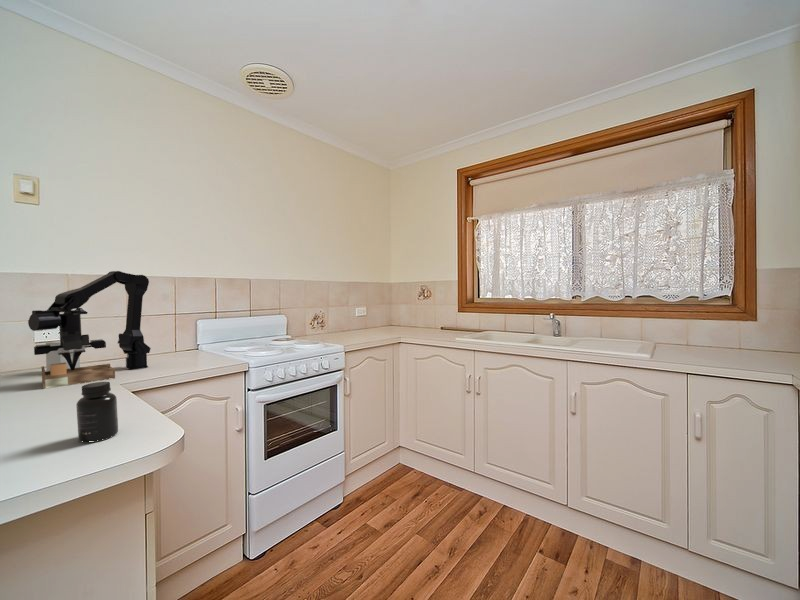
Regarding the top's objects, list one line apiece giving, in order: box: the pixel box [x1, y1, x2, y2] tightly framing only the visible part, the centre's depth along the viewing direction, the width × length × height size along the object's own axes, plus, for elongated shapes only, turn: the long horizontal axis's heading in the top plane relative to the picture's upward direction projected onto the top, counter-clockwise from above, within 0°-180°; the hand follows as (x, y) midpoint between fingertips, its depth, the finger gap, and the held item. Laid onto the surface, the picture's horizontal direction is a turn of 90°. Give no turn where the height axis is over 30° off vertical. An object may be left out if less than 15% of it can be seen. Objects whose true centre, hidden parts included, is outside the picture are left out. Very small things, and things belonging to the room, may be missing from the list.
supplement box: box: [45, 340, 81, 372], centre depth 143 cm, size 7×7×13 cm
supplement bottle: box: [76, 381, 119, 442], centre depth 78 cm, size 7×7×12 cm
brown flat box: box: [41, 363, 116, 390], centre depth 128 cm, size 19×11×6 cm, turn 137°
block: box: [50, 362, 67, 376], centre depth 125 cm, size 4×4×4 cm
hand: (72, 370), depth 127 cm, fingers closed
